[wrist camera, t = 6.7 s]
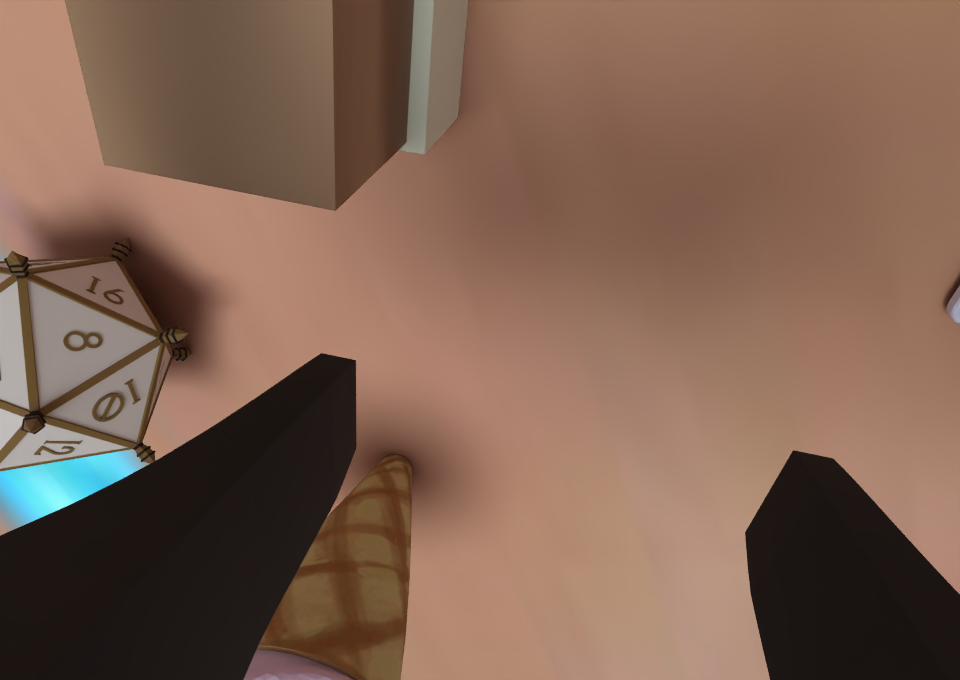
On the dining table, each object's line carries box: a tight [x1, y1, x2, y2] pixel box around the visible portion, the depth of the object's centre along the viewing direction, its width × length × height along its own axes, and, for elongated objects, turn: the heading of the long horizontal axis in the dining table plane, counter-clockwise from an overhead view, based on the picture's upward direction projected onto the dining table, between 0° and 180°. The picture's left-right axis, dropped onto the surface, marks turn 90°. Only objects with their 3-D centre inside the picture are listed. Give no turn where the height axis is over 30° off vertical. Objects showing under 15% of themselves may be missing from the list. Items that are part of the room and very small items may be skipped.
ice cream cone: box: [244, 455, 412, 680], centre depth 20 cm, size 7×6×15 cm
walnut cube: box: [65, 0, 414, 211], centre depth 11 cm, size 4×4×4 cm
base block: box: [399, 0, 468, 155], centre depth 15 cm, size 6×6×4 cm
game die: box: [0, 238, 192, 471], centre depth 21 cm, size 9×8×10 cm
